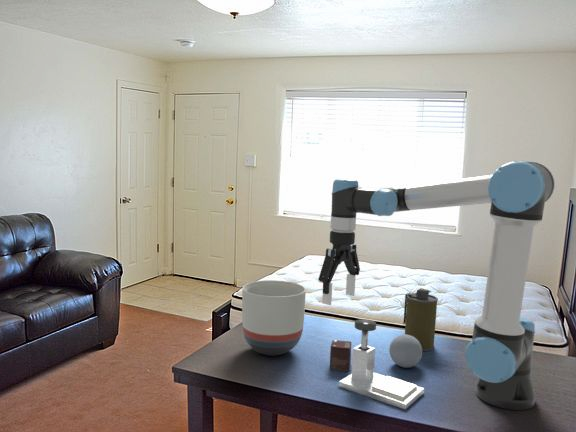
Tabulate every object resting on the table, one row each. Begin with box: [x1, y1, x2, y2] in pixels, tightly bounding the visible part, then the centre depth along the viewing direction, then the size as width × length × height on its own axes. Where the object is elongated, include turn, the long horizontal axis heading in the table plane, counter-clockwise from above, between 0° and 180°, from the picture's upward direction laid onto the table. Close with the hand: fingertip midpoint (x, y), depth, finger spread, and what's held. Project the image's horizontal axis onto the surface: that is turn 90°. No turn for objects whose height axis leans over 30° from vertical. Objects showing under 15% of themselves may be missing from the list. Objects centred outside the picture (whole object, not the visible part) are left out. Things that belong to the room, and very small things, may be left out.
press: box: [338, 343, 425, 410], centre depth 142 cm, size 20×12×10 cm, turn 53°
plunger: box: [354, 318, 377, 351], centre depth 145 cm, size 6×6×13 cm
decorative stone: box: [388, 333, 423, 369], centre depth 159 cm, size 10×10×10 cm
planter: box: [241, 279, 307, 356], centre depth 166 cm, size 20×20×21 cm
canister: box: [403, 287, 439, 352], centre depth 177 cm, size 11×10×20 cm
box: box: [329, 339, 352, 372], centre depth 157 cm, size 6×6×7 cm
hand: (338, 299), depth 156 cm, fingers open, 13 cm apart
